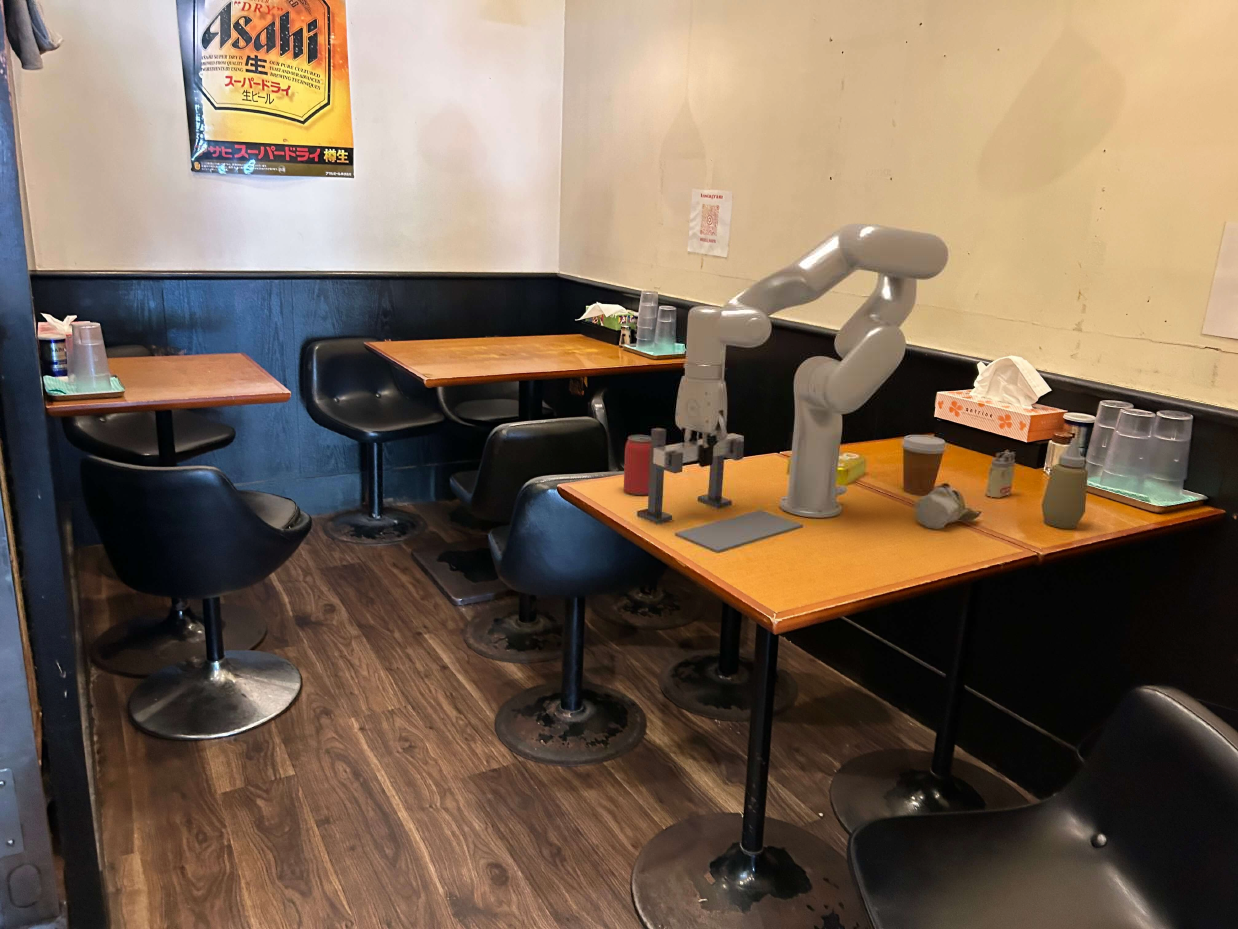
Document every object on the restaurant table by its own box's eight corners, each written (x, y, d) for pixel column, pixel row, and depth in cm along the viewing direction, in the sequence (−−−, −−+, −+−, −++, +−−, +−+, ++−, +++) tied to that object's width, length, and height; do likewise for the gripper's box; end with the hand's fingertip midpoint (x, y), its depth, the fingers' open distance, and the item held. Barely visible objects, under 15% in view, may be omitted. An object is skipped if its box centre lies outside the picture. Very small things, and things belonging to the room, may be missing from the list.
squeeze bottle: (1064, 533, 175) (1080, 445, 170) (1029, 521, 182) (1044, 435, 177) (1091, 528, 178) (1107, 441, 173) (1055, 516, 185) (1070, 432, 180)
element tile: (808, 462, 221) (810, 444, 220) (867, 473, 213) (869, 454, 212) (783, 475, 209) (785, 455, 208) (844, 487, 201) (846, 467, 200)
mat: (759, 512, 181) (760, 509, 181) (802, 527, 173) (802, 524, 173) (674, 535, 166) (674, 532, 166) (717, 553, 158) (717, 550, 158)
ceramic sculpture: (904, 481, 175) (940, 472, 185) (897, 522, 177) (933, 512, 187) (955, 494, 168) (989, 485, 178) (947, 538, 170) (982, 526, 180)
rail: (732, 447, 183) (733, 433, 182) (742, 450, 181) (743, 436, 180) (653, 463, 169) (653, 448, 168) (663, 466, 167) (664, 451, 166)
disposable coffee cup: (893, 493, 197) (900, 441, 194) (897, 482, 205) (904, 432, 202) (939, 500, 193) (946, 446, 190) (941, 488, 202) (948, 437, 199)
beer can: (651, 497, 188) (653, 442, 185) (620, 494, 189) (622, 440, 186) (656, 488, 194) (658, 435, 191) (626, 485, 195) (628, 433, 192)
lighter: (997, 499, 195) (1004, 456, 192) (981, 495, 198) (987, 452, 195) (1013, 494, 200) (1020, 451, 197) (997, 490, 202) (1004, 447, 200)
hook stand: (710, 497, 189) (716, 415, 184) (742, 508, 183) (748, 423, 178) (636, 515, 176) (640, 427, 171) (667, 528, 169) (672, 437, 165)
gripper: (661, 367, 174) (657, 457, 179) (722, 380, 162) (715, 476, 167) (688, 364, 179) (683, 452, 184) (749, 376, 167) (742, 470, 172)
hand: (699, 462), depth 175 cm, fingers closed on rail, 3 cm apart
